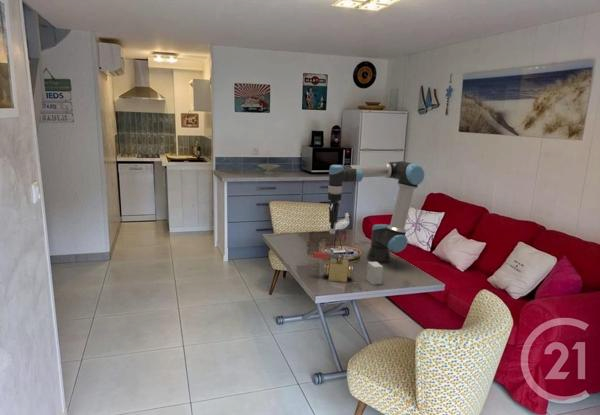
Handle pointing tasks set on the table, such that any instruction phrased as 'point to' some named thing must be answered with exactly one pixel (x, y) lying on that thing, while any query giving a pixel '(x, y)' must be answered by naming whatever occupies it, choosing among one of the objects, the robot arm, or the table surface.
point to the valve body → (338, 270)
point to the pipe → (351, 270)
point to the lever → (327, 255)
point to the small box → (374, 273)
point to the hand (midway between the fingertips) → (332, 233)
